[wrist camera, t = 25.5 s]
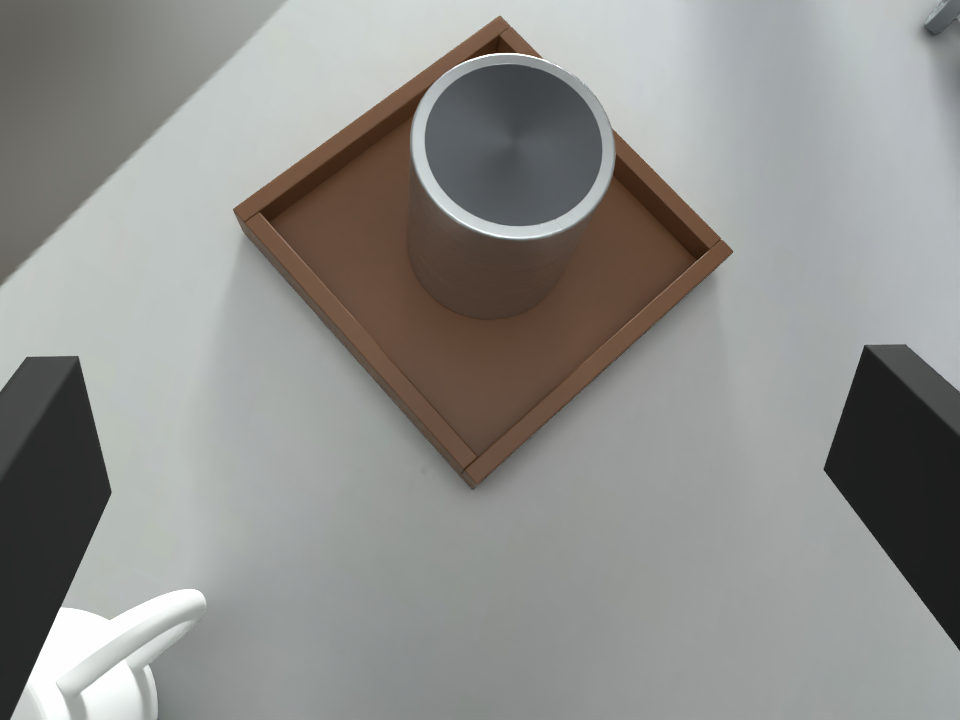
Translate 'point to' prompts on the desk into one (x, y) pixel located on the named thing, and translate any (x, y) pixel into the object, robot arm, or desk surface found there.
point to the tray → (450, 335)
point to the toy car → (943, 15)
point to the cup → (106, 661)
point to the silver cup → (503, 181)
